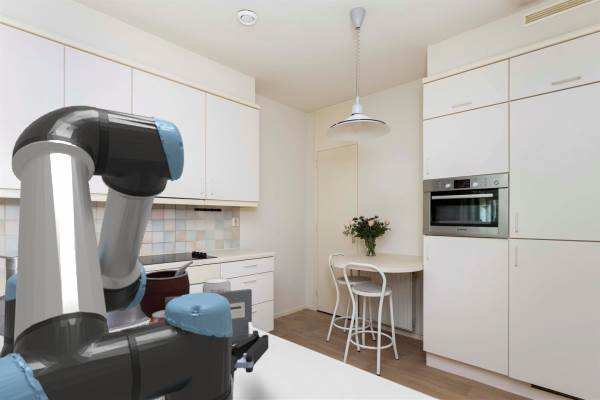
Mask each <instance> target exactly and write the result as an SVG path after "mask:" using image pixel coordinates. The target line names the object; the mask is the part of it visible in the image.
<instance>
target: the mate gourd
mask: <svg viewBox="0 0 600 400" xmlns="http://www.w3.org/2000/svg"><path fill="white" fill-rule="evenodd" d="M193 264H194V260H191V261H189V262H187V263H186V264H184V265H182V266H181V267H179V268H178V269H164V270H155V271H151V272H146V285H145V293H144V296H143V298H142V300H141V302H140V303H139V306H140V310H141V311H142V313H143V314H144V315H145V316H146V318H147V319H151V318H152V314H153V313H155V312H158V311H162V310H165V297H174V296H182V295H186V294H191V292H190V291H191V290H190V288H191V287H190V286H191V284H190V277H189V273H188V271H187V269H188V267H189V266H190V265H193Z"/></svg>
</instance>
